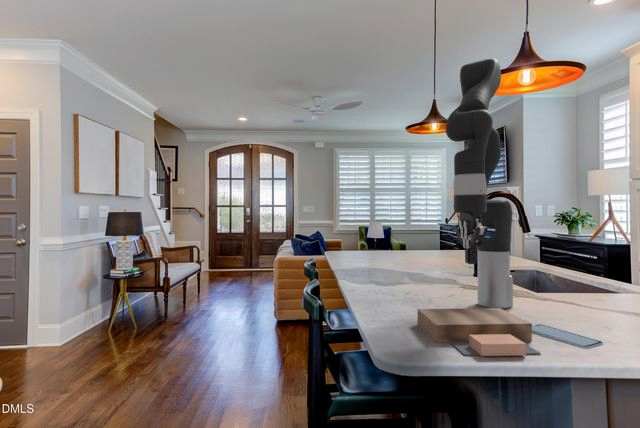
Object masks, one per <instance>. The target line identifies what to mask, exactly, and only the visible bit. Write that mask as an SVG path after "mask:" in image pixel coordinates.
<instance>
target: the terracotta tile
mask: <svg viewBox="0 0 640 428" xmlns="http://www.w3.org/2000/svg"><path fill="white" fill-rule="evenodd" d="M526 345H527V344H526V342H525V341H521V340H519V339H517V338H516V337H514V336H512V335H510V334H482V335H469V346H470V347H471V348H473V349H474V350H475V351H476V352H478V353H479V354H480V355H481V357H504V356H505V357H507V356H509V357H511V356H512V357H513V356H520V357H521V356H527V355H526Z"/></svg>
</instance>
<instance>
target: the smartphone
mask: <svg viewBox="0 0 640 428" xmlns="http://www.w3.org/2000/svg"><path fill="white" fill-rule="evenodd" d="M534 333H535V334H534ZM532 334H534V335H537V334H538V336H541V337H545V338H548V339H551V340H555V341H557V340H558V341H557V342H560V343H561V342H562V343H564V344H567V343H568V345H571V346H575V347H577V346H578V348H581V349H586V348H588V349H592V348H595V347H599V346H603V345H604V342H603V341H601V340H598V339H594V338H591V337H587V336H583V335H580V334H577V333H574V332H570V331H567V330H563V329H560V328H555V327H554V326H553V327H552V326H550V325H545V324H540V323H538V324H534V325H533V324H532Z"/></svg>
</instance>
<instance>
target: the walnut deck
mask: <svg viewBox="0 0 640 428" xmlns="http://www.w3.org/2000/svg"><path fill="white" fill-rule="evenodd" d="M417 326H418V327H419V328H421V329H422V331H424V332H425V333H426V335H428V337H430V338H431V339H432V340H433V341H434V342H435V343H436V344H439V343H440V344H442V343H446V344H447V343H449V344H451V343H450V342H469V335H482V334H510V335H512V336H514V337H516V338H517V339H519V340H521V341H522V342H532V341H533V340H532V338H533V333H532V326H533V324H532V322H530V321H528V320H525V319H523V318H521V317H519V316H517V315H515V314H514V313H512V312H511V313H510V312H509V311H507V310H504V308H489V307H484V308H482V307H481V308H480V307H479V308H477V307H476V308H473V307H471V308H418V309H417Z"/></svg>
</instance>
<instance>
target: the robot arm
mask: <svg viewBox="0 0 640 428" xmlns="http://www.w3.org/2000/svg"><path fill="white" fill-rule="evenodd" d="M501 71H502V69H501V65H500V62H499V61H498V60H497V59H496V58H487V59H482V60H479V61H474V62H470V63H467V64H464V65H462V66H461V68H460V72H459V81H460V87H461V95H462V98H461V102H460V104H459V105H458V106H457V107H456V108H455V109H454V110H453V111H452V112H451V114H449V116H448V118H447V120H446V123H445V133H446V136H447V138H449V140H451V141H453V142H455V143H456V142H458V143H459V142H467V149H464V150H463V149H462V150H461V151H458V152H456V153H455V154H454V157H453V159H454V160H453V164H454V165H453V169H454V170H453V171H454V172H453V174H454V179H453V212H454V213H456V214H459V220H458V221H459V223H458V224H455V226H454V228H455V231H456V235H457V238H458V241H459V244H460V246H462V247H463V248H464V259H465V260H464V261H465V262H464V263H466V264H468V265H476V264H477V305H479V306H482V307H484V308H501V309H509V308H513V307H514V300H513V299H514V295H513V294H514V277H513V276H512V275H511V251H510V250H511V241H512V223H513V209H512V204H511V203H510V201H509V200H507V199H487V191H488V189H487V188H488V185H489V182H490V179H491V178H492V176H493V174H494V172H495V170H496V169H497V167H498V165H499V162H500V160H501V158H502V151H501V149H502V147H501V139H500V137H501V136H500V134H499V132H498V130H497V129H496V127H495V126H494V125H493V123H494V122H493V117H492V115H491V112H490V111H488V110H489V108H490V102H491V100H492V99H493V98H494V95H495V94H496V93H497V92H498V89H499V87H500V85H501V81H502V72H501ZM488 229H491V230H494V233H493V235H491V236H489V237H488V238H486V235H487V233H488Z"/></svg>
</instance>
